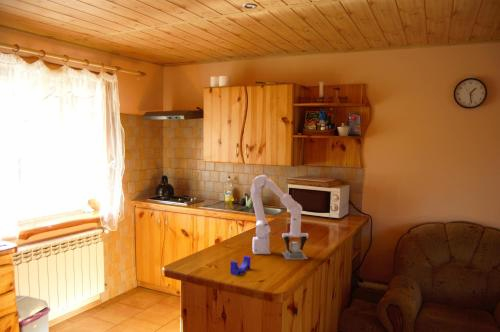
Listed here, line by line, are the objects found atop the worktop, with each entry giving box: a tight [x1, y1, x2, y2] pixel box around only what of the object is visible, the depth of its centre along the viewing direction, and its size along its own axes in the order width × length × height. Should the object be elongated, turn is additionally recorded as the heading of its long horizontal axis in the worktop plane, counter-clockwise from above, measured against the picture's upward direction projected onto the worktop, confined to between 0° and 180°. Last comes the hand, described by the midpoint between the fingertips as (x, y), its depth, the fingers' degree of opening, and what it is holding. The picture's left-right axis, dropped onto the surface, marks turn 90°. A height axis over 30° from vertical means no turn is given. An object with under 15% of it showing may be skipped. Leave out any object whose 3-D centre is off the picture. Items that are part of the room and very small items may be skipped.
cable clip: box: [230, 255, 251, 276], centre depth 192 cm, size 12×4×6 cm, turn 143°
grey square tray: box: [280, 249, 309, 261], centre depth 218 cm, size 12×12×3 cm
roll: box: [290, 241, 300, 254], centre depth 218 cm, size 4×4×7 cm
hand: (294, 250), depth 218 cm, fingers open, 7 cm apart
